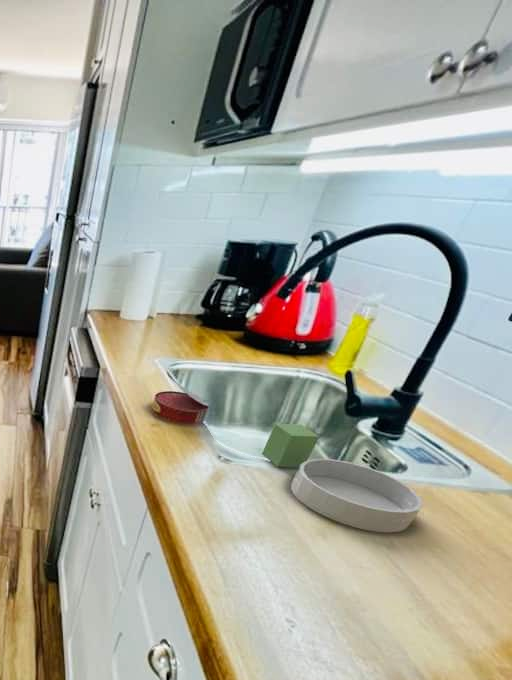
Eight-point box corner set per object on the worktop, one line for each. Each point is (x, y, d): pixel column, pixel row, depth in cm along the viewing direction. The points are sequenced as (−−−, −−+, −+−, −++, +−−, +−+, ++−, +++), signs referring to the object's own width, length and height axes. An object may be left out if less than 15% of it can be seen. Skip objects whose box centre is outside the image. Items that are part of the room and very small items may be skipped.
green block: (286, 454, 84) (301, 424, 81) (303, 468, 80) (319, 436, 77) (261, 454, 84) (275, 423, 81) (277, 467, 81) (292, 435, 78)
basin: (358, 478, 78) (368, 460, 76) (437, 534, 66) (452, 514, 64) (271, 475, 78) (279, 457, 76) (333, 530, 66) (345, 510, 64)
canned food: (154, 422, 105) (170, 378, 104) (205, 434, 98) (222, 387, 97) (139, 413, 96) (155, 365, 95) (193, 425, 90) (211, 373, 89)
